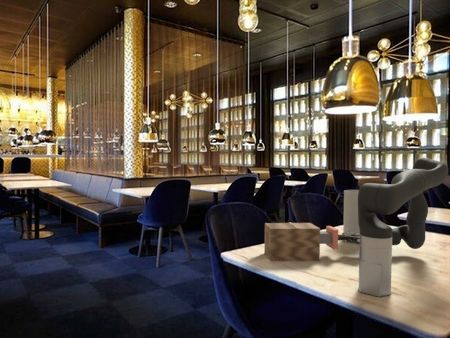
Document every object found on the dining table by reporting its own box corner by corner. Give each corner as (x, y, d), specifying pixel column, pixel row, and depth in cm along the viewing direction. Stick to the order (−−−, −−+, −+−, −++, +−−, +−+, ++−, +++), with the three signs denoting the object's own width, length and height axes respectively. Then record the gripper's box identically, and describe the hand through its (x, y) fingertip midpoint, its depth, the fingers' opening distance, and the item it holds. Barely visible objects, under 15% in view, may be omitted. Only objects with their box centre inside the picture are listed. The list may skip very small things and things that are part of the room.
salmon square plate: (330, 244, 149) (330, 226, 148) (337, 249, 141) (338, 229, 140) (284, 245, 147) (285, 226, 147) (289, 249, 139) (289, 230, 139)
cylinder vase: (348, 237, 181) (349, 189, 181) (373, 240, 173) (374, 191, 173) (339, 241, 172) (340, 191, 171) (365, 245, 164) (366, 192, 163)
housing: (309, 252, 150) (310, 222, 150) (319, 260, 138) (320, 227, 138) (264, 253, 149) (264, 222, 148) (270, 261, 137) (270, 228, 136)
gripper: (366, 225, 152) (328, 225, 151) (382, 231, 139) (340, 231, 138) (366, 242, 152) (328, 242, 151) (382, 250, 139) (340, 250, 138)
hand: (334, 237), depth 144 cm, fingers closed
